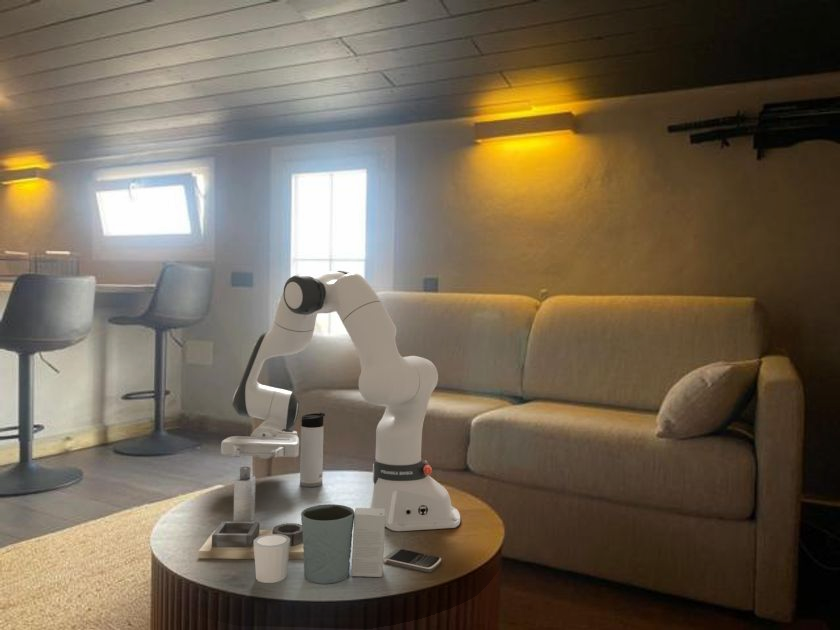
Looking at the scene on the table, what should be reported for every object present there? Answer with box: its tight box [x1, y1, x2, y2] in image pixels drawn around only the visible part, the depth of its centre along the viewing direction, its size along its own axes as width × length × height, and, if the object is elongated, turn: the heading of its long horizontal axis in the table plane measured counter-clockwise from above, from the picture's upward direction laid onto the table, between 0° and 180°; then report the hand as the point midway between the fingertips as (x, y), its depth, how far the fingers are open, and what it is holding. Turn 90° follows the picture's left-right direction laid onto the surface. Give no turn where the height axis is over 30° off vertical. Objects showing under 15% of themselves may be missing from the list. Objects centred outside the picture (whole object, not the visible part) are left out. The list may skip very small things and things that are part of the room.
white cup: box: [254, 534, 290, 584], centre depth 122 cm, size 7×7×7 cm
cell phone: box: [383, 547, 442, 573], centre depth 130 cm, size 6×11×1 cm, turn 65°
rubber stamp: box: [233, 466, 256, 522], centre depth 151 cm, size 4×4×12 cm
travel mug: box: [299, 412, 326, 488], centre depth 181 cm, size 6×7×20 cm
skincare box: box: [350, 507, 386, 578], centre depth 124 cm, size 6×4×12 cm
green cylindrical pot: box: [300, 503, 355, 585], centre depth 123 cm, size 10×10×12 cm
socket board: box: [198, 520, 304, 560], centre depth 135 cm, size 22×12×4 cm, turn 92°
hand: (255, 454), depth 163 cm, fingers open, 8 cm apart
